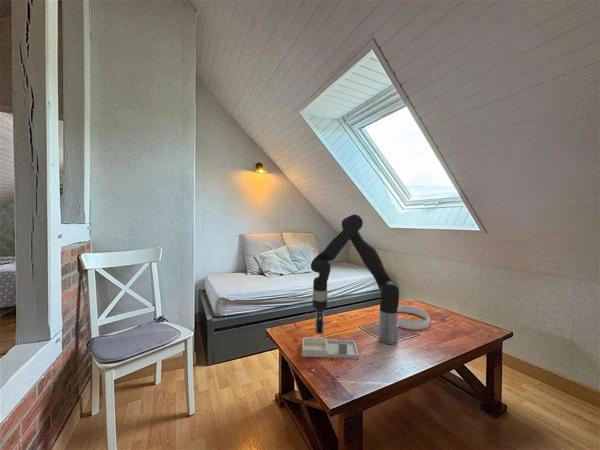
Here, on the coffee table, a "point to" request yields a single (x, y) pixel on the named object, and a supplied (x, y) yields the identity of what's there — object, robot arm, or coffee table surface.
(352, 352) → the parts tray
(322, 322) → the blue-grey block
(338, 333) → the coffee table surface
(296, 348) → the coffee table surface
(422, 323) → the white ring
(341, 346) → the light grey block
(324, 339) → the open box
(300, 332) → the coffee table surface
